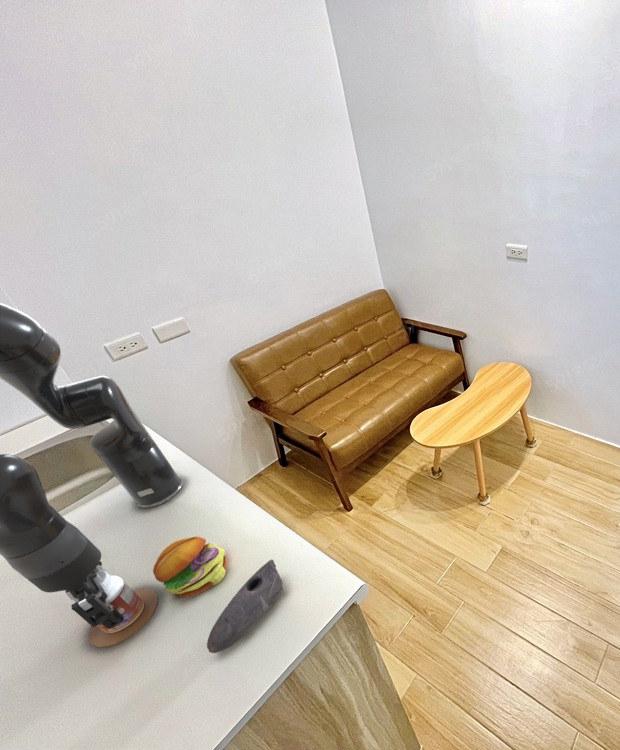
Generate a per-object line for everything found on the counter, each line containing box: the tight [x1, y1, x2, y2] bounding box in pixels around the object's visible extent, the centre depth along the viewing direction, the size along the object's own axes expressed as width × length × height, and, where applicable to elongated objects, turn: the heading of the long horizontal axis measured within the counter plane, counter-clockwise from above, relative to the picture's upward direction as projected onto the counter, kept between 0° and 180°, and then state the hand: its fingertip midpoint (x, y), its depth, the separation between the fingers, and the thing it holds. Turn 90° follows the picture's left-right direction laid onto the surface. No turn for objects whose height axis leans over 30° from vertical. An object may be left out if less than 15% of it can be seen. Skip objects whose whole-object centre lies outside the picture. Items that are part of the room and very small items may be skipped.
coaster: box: [88, 588, 159, 648], centre depth 72 cm, size 10×10×1 cm
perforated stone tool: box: [206, 559, 284, 654], centre depth 70 cm, size 15×5×7 cm, turn 156°
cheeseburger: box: [152, 536, 228, 598], centre depth 76 cm, size 10×11×10 cm
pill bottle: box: [95, 570, 144, 633], centre depth 69 cm, size 6×6×11 cm
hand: (113, 606), depth 70 cm, fingers open, 8 cm apart
